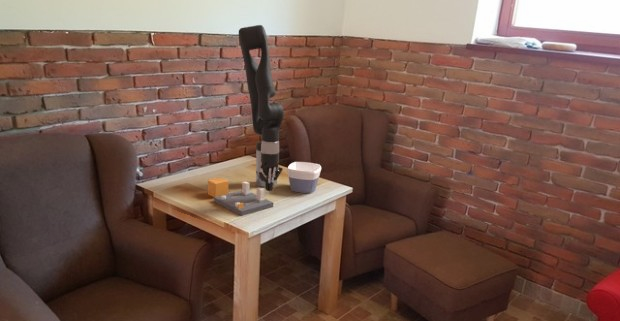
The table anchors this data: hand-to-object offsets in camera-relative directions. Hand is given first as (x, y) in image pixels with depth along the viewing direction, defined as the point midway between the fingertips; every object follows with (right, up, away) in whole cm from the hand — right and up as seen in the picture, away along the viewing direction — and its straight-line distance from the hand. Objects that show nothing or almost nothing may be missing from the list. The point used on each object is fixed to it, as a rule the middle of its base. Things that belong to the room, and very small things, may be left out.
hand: (268, 190), depth 195 cm
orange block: (-23, -2, +8) cm, 25 cm away
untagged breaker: (-10, -2, +4) cm, 11 cm away
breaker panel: (-11, -6, -2) cm, 12 cm away
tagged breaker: (-3, -4, -3) cm, 6 cm away
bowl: (+14, -1, +21) cm, 25 cm away
